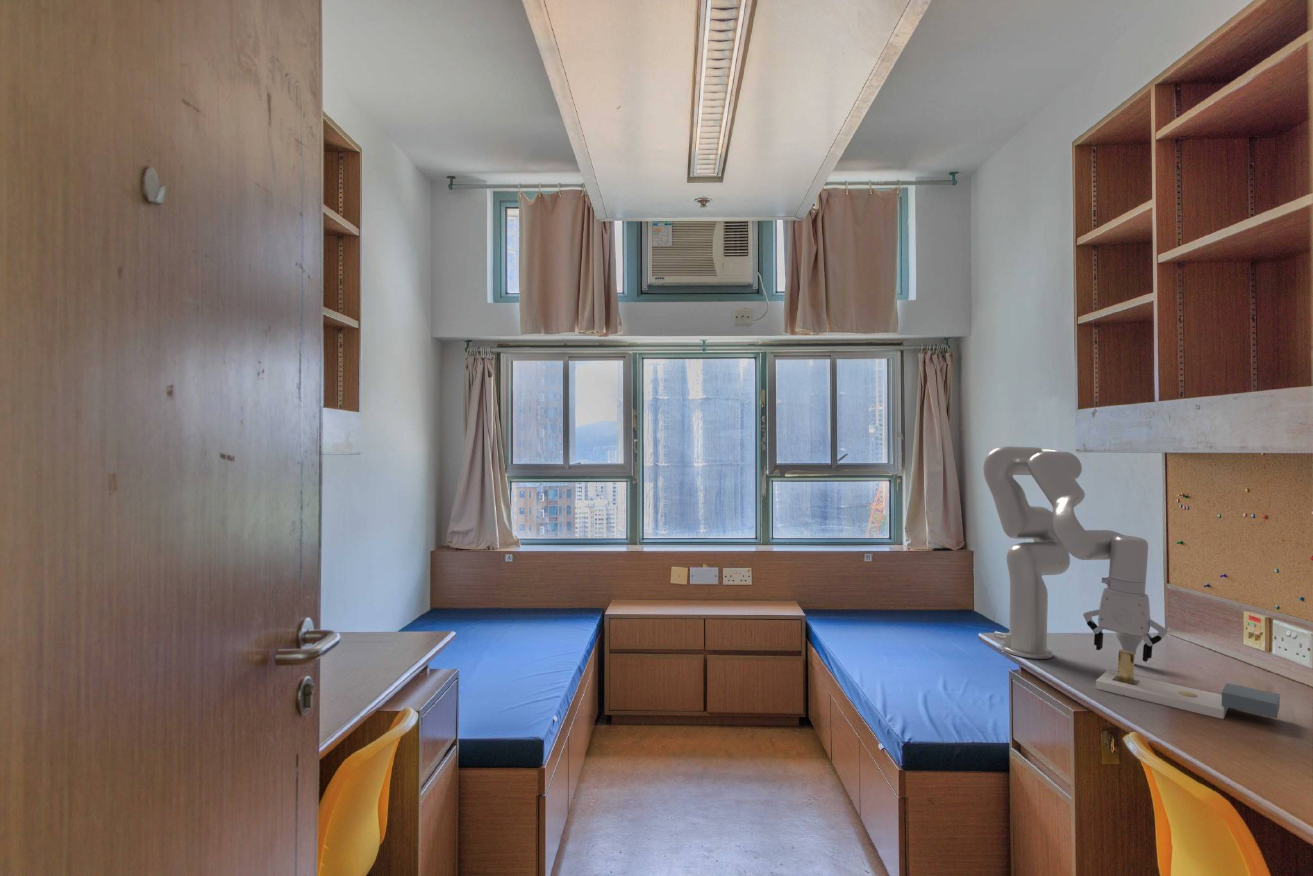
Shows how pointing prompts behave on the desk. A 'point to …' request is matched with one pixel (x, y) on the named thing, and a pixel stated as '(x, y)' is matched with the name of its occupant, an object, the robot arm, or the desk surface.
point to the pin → (1126, 667)
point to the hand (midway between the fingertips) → (1121, 654)
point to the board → (1165, 694)
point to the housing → (1251, 700)
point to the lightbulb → (1128, 642)
